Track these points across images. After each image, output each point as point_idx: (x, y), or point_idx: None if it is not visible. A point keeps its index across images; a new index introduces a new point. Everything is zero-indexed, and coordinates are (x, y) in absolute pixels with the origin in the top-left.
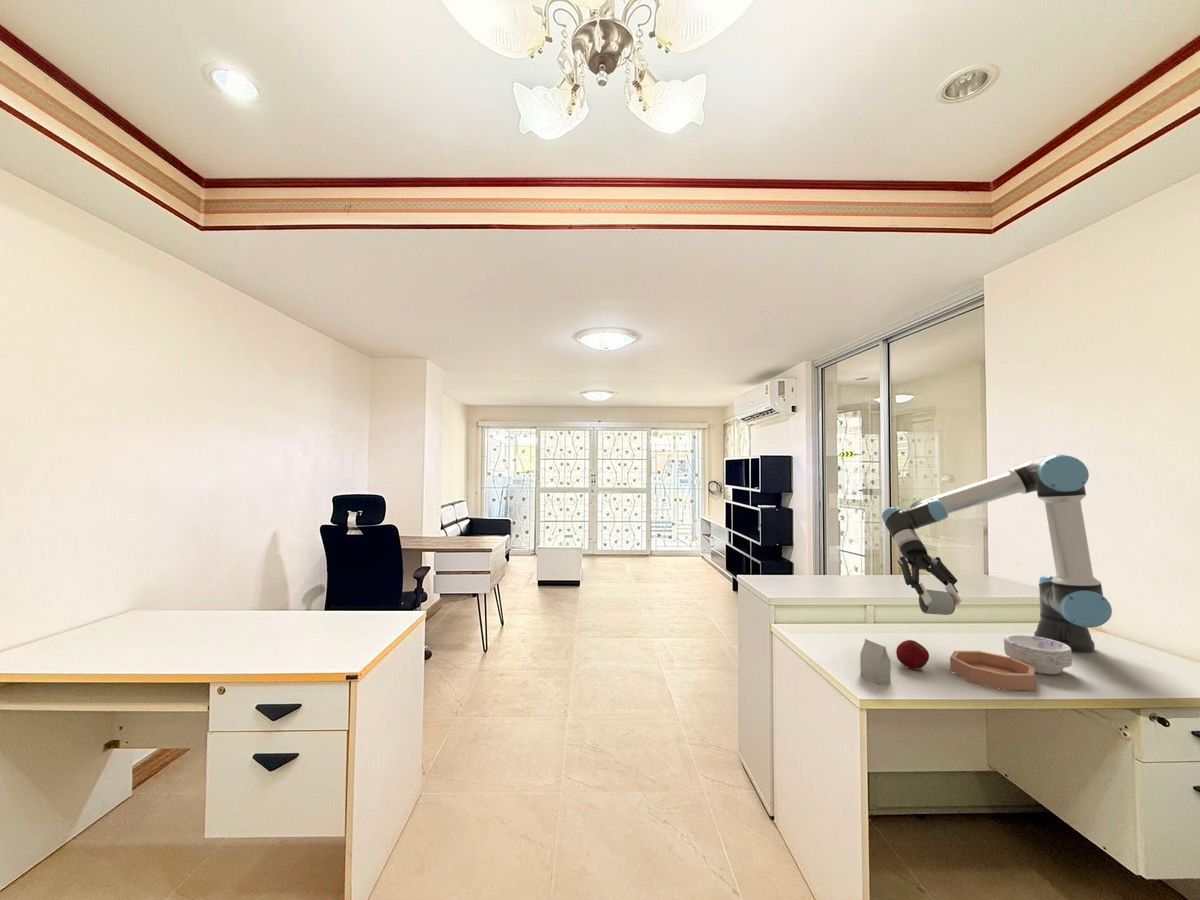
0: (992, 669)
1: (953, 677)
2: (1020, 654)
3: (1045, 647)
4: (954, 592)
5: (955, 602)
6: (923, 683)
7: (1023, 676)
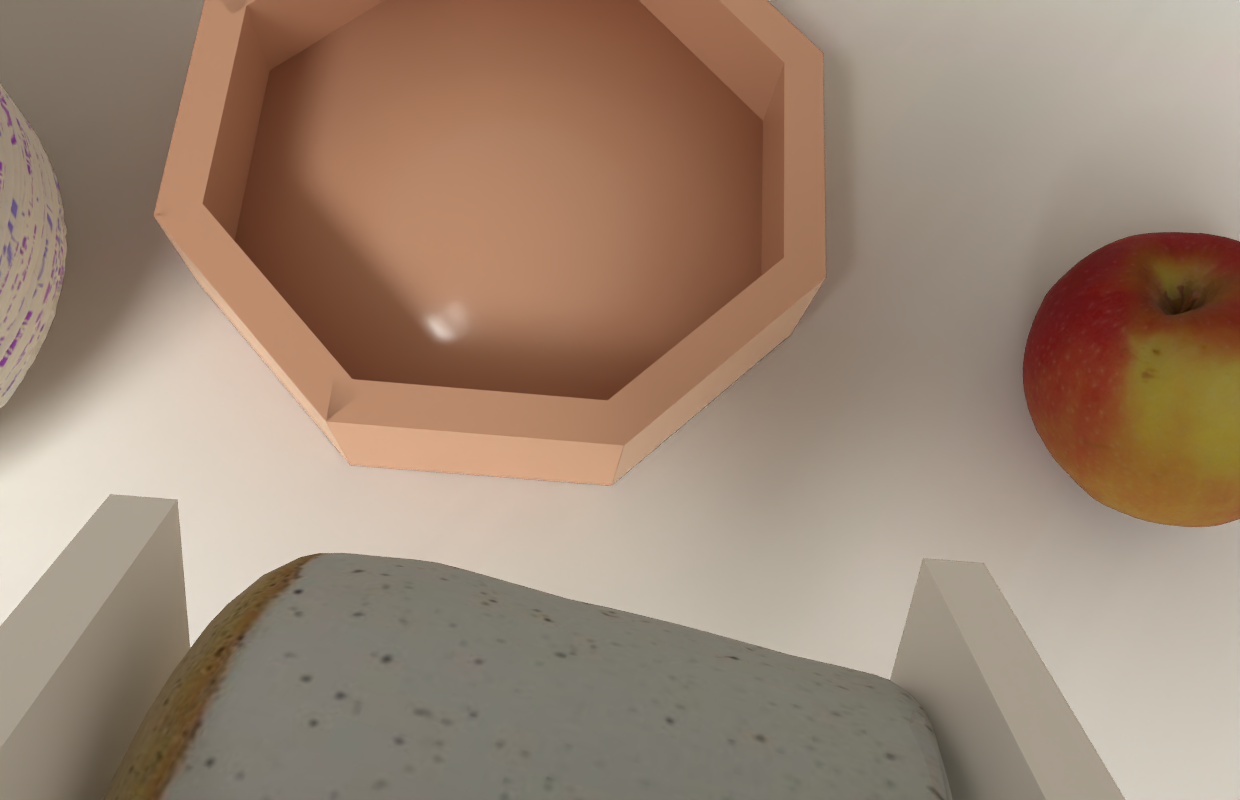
0: (423, 250)
1: (863, 218)
2: (40, 180)
3: None
4: (46, 677)
5: (166, 670)
6: (1181, 146)
7: None
